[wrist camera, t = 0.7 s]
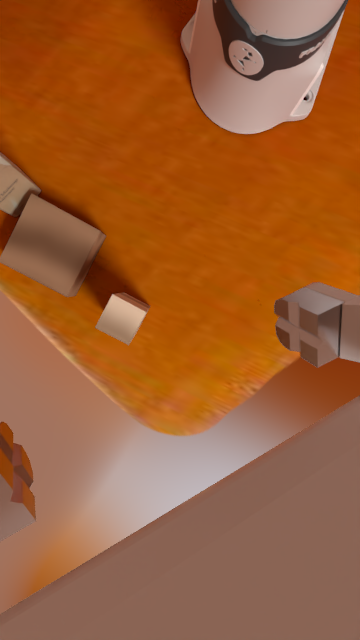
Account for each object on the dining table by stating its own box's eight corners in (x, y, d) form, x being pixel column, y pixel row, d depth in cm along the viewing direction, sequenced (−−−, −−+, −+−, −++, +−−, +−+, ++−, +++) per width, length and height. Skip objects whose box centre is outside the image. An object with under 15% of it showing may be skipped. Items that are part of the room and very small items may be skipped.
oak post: (124, 292, 44) (112, 294, 34) (150, 306, 44) (146, 312, 34) (110, 318, 44) (95, 327, 34) (136, 331, 45) (128, 345, 35)
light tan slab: (44, 202, 42) (31, 193, 38) (106, 236, 43) (100, 230, 39) (13, 263, 43) (-2, 261, 39) (75, 295, 44) (66, 296, 40)
